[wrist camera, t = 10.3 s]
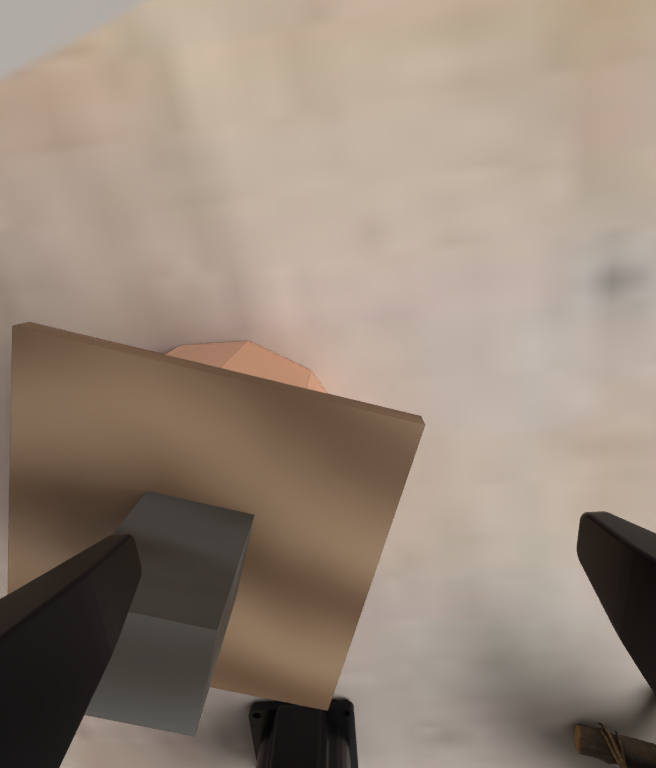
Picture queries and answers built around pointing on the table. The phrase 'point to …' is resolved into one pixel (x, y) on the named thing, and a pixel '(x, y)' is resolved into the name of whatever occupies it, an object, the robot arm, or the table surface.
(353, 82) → the table surface
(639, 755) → the bird figurine
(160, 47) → the table surface
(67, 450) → the lid
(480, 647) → the table surface
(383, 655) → the table surface
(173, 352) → the bowl
